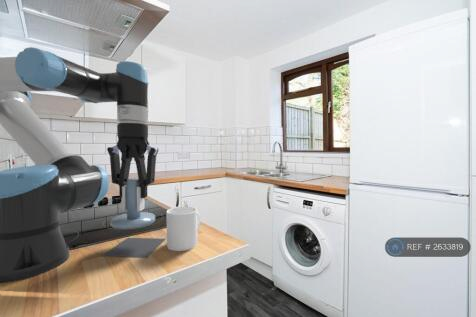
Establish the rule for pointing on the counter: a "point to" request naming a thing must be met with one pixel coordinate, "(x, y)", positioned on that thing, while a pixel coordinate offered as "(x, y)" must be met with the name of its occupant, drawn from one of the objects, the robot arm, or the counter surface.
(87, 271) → the counter surface
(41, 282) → the counter surface
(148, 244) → the mat
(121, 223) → the lid
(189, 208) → the mug
